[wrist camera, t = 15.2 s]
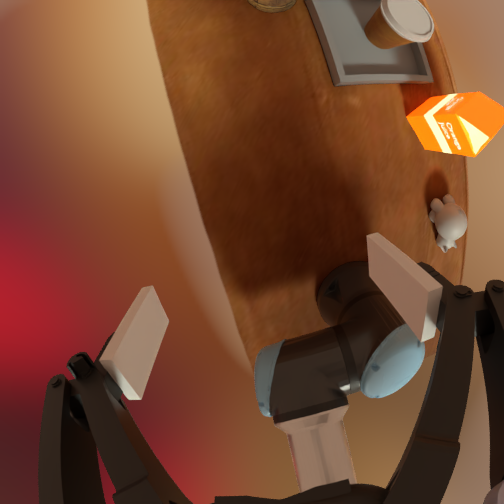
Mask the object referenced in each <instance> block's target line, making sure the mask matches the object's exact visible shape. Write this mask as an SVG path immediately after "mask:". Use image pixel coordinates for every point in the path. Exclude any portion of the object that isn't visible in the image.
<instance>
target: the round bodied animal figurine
mask: <svg viewBox="0 0 504 504" xmlns="http://www.w3.org/2000/svg"><path fill="white" fill-rule="evenodd" d="M442 202H443V203H442ZM442 202H441V201H440V200H439V199H437V198H435V199H433V200H432V202H431V205H430V206H431V208H432V210H431V212H430V213H429V218H430V220H431V221H432V222H434V223H435V226H436V229H437V231H438V233H439V234H438V236H437V239H436V243H437V245H438V246H440V247H441V249H442V251H443V252H447V250H448V249H449V248H451V247H455V248H457V246H456V243H455V240H456V239H458V238H460V237H461V236H462V235H463V234H464V233H465V231H466V228H467V218H466V215H465V212H464V211H463V210H462V208H461V207H459V206H458V205H456V204H455V201H454V199H453V197H452V196H451V195H450V194H446V195H445V196H444V197H443V199H442Z"/></svg>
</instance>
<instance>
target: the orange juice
mask: <svg viewBox="0 0 504 504" xmlns="http://www.w3.org/2000/svg"><path fill="white" fill-rule="evenodd" d="M406 118H407V119H408V121H409V123H410V124H411V126H412V128H413V129H414V131H415V133H416V134H417V136H418V138H419V140H420V141H421V143H422V145H423V147H424V149H425V150H433V151H440V152H445V153H451V154H452V153H453V154H459V155H465V156H471V157H476V155H477V154H478V153H479V152H480V151H481V150H482V149H483V148H484V147H485V146H486V145H487V143H488V142H489V141H490V140H491V139H492V138H493V137H494V136H495V134H496V133H497V131H498V130H499V129H500V128H501V127H502V125H503V124H504V107H502V106H501V105H499V104H498V103H496V102H495V101H493V100H492V99H490V98H489V97H487V96H485V95H484V94H482V93H480V92H479V91H478V92H474V93H461V94H449V95H443V96H436V97H430V98H429V99H428V100H427V101H425V102H424V103H423V104H422V105H420V106H419V107H418V108H417V109H415V110H414V111H413V112H412V113H410V114H409V115H408V116H407V117H406Z"/></svg>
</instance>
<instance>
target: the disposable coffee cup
mask: <svg viewBox="0 0 504 504" xmlns="http://www.w3.org/2000/svg"><path fill="white" fill-rule="evenodd" d="M364 31H365V35H366V37H367V39H368V40H369V41H370V42H371V43H372V44H373V45H374V46H376V47H378V48H380V49H390V48H393V47H397V46H401V45H405V44H409V43H413V42H426V41H428V40H429V39H430V38H431V35H432V34H433V31H434V23H433V20H432V17H431V15H430V14H429V12H428V11H427V9H426V8H425V7H424V6H423V5H422V4H421V3H420V2H419V1H418V0H381V4H380V6H379V7H378V9H377V10H376V11H375V13H374V14H373V16H372V17H371V18H370V20H369V21H368V23H367V24H366V25H365V29H364Z"/></svg>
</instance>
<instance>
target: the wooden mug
mask: <svg viewBox="0 0 504 504" xmlns="http://www.w3.org/2000/svg"><path fill="white" fill-rule="evenodd" d="M248 2H249V3H250V4H251V5H253V6H254V7H255V8H257V9H258V10H261V11H264V12H272V13H273V12H282V11H286V10H288V9H290V8H291V7H292V6H293V5H294V4H295V2H296V0H248Z"/></svg>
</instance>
